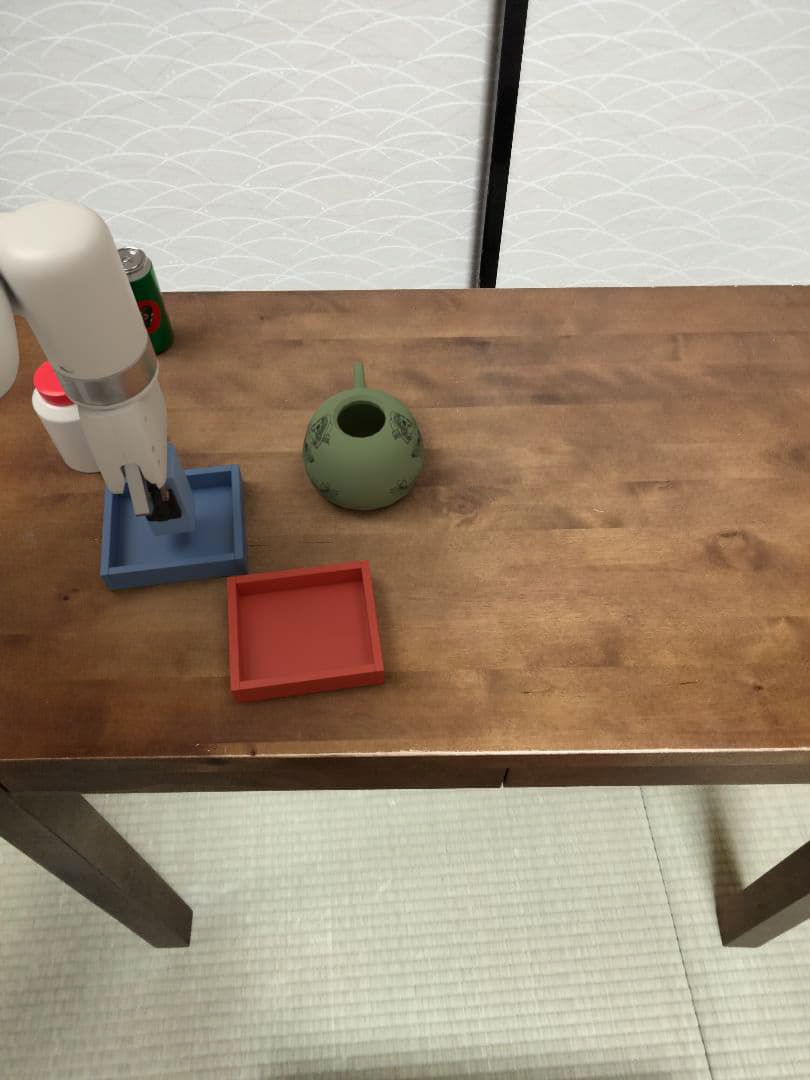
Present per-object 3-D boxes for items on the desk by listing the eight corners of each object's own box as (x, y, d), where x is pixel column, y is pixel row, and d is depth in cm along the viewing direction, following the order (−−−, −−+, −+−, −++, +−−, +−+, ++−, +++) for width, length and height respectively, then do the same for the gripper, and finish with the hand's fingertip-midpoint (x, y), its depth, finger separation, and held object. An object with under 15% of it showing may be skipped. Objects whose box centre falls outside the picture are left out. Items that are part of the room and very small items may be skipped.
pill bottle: (56, 429, 91) (16, 358, 82) (125, 410, 93) (94, 339, 83) (66, 481, 87) (26, 413, 78) (138, 461, 89) (107, 392, 79)
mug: (429, 515, 85) (431, 464, 78) (305, 522, 85) (295, 471, 77) (417, 399, 94) (418, 344, 86) (304, 405, 93) (296, 350, 86)
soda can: (184, 336, 99) (159, 254, 89) (156, 362, 97) (127, 281, 86) (152, 320, 100) (124, 238, 90) (124, 345, 98) (92, 264, 88)
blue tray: (109, 590, 80) (99, 575, 78) (114, 495, 86) (105, 478, 84) (247, 573, 81) (242, 558, 79) (243, 480, 87) (238, 463, 85)
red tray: (236, 703, 74) (230, 691, 72) (232, 592, 80) (226, 577, 78) (384, 683, 75) (384, 670, 73) (369, 575, 81) (368, 559, 79)
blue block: (154, 536, 80) (127, 482, 73) (155, 503, 82) (129, 447, 75) (195, 531, 81) (173, 477, 73) (195, 498, 83) (173, 442, 75)
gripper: (64, 292, 67) (129, 434, 83) (46, 451, 58) (122, 577, 74) (156, 283, 68) (203, 426, 83) (152, 439, 59) (206, 566, 74)
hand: (165, 496), depth 78 cm, fingers closed on blue block, 4 cm apart
